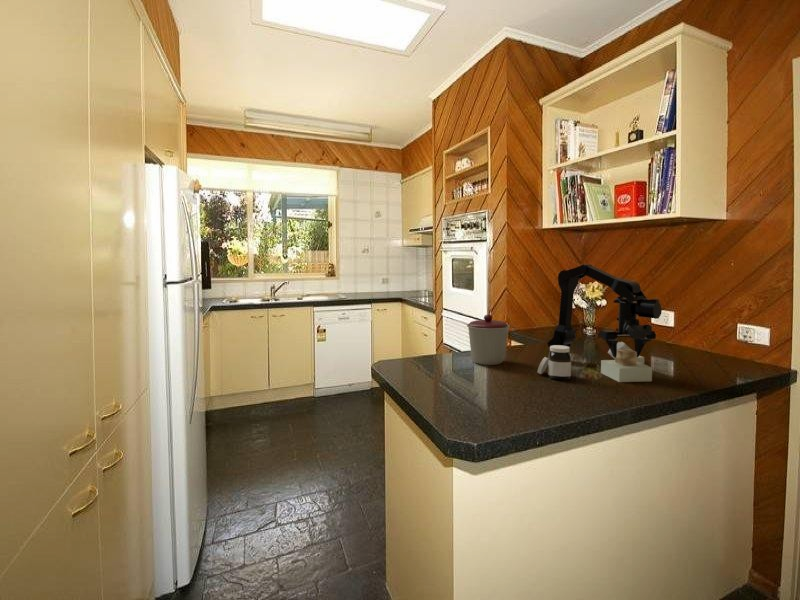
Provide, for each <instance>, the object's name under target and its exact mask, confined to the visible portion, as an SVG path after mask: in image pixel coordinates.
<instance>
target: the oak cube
mask: <svg viewBox="0 0 800 600" xmlns="http://www.w3.org/2000/svg"><path fill="white" fill-rule="evenodd" d="M630 349H631V348H630ZM630 349H617V356H616V358H615V359H614V360H615V362H616V363H618V364H620V365H623V366H631V365H636V363H637V352H636V351H635V350H633V349H632V350H630Z"/></svg>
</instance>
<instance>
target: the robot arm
mask: <svg viewBox="0 0 800 600" xmlns="http://www.w3.org/2000/svg"><path fill="white" fill-rule="evenodd" d="M585 277H589V278H591V279H593V280H595V281H597V282H598V283H601V284H603V285H605V286H607V287H609V288H610V289H611V291H612V292H614V293H615V294H616V295H617V297H616V298H615V299H614V300H613V303H614V304H618V317H616V321H618V327H617V328H615V330H611V329H600V330H599V332H598V336H597V337H598V338H601V339H602V340H604V341H605V342H606V344H607V346H608V348H609V349H610V350H611V352H612V355H613V357H614V358H616V356H617V343H618V342H620V341H619V340H618V339H617V338H627V337H628V338H631V339H633V340H634V351H636V352H637V357H639V356H641V353H642V351H643V348H644V347H645V345H646V344H647V343H649V342H652V340H656V339H657V333H656V331H654V330H652V325H650V324H640V319H638V318H637V316H638V317H640V318H646V319H647V318H648V319H656V320H657V319H659V318H660V317H661V315H662V313H663V312H662V311H663V308H662V305H661V303H660V300H659V298H648V297H647V296H646V295H645V293H644V292H643V290H642V289H641V285H640V284H639V283H638V282H637V281H634V280H630V279H626V278H620V277H617V276H615V275H612V274H610V273H609V272H606V271H604V270H602V269H600V268H599V267H596V266H593V265H592V264H589V263H588V264H586V263H583V264H581V265H579V266H576V267H573V268H570V269H564V270H561V271H560V272H559V273H558V275H557V281H558V286H559V289H560V291H561V292H560V304H559V314H558V315H559V317H558V324H557V325H556V328H555V329H554V331H553V336H552V338H551V339H550V340H549V341H548V342H547V347H548V348H549V349H550V346H552V345H562V346H568V347H569V348H570V347H571V345H572V343H574V342H575V339H576V332H577V330H576V329H575V328H573V326H572V316H573V315H572V314H573V305H574V294H575V290H576V289H577V288H578V286H579V282H580V279H583V278H585ZM613 357H612V358H613ZM614 358H613V359H614Z"/></svg>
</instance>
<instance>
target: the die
mask: <svg viewBox="0 0 800 600" xmlns="http://www.w3.org/2000/svg"><path fill="white" fill-rule="evenodd" d="M617 349H630V350H633V349H632V348H631V347H629V346H628V345H627V344H626V343H625V342H623V341H619V342H618V343H617ZM607 354H608V355H610V357H612V358H613V360H615V358H614V357H613V355H612V352H611V350H610V348H609V349H608V351H607Z"/></svg>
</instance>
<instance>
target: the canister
mask: <svg viewBox="0 0 800 600" xmlns="http://www.w3.org/2000/svg"><path fill="white" fill-rule="evenodd" d="M510 326H511V325H510V324H508V323H507V322H505V321H502V320H495V319H493V316H492V315H491V314H485V315H484V316H483V319H479V320H472V321H470V322H469V323H467V324H466V327H467V328H468V339H469V344H470V345H469V348H470V355H471V358H472V360H473V362H474V363H475V362H476V364H478V363H479V364H478V365H482V364H483V366H495V365H496V366H497V365H500V364H502V363H503V361H504V360H505V356H506V349H507V343H508V341H507V340H508V333H509V328H511V327H510Z"/></svg>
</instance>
